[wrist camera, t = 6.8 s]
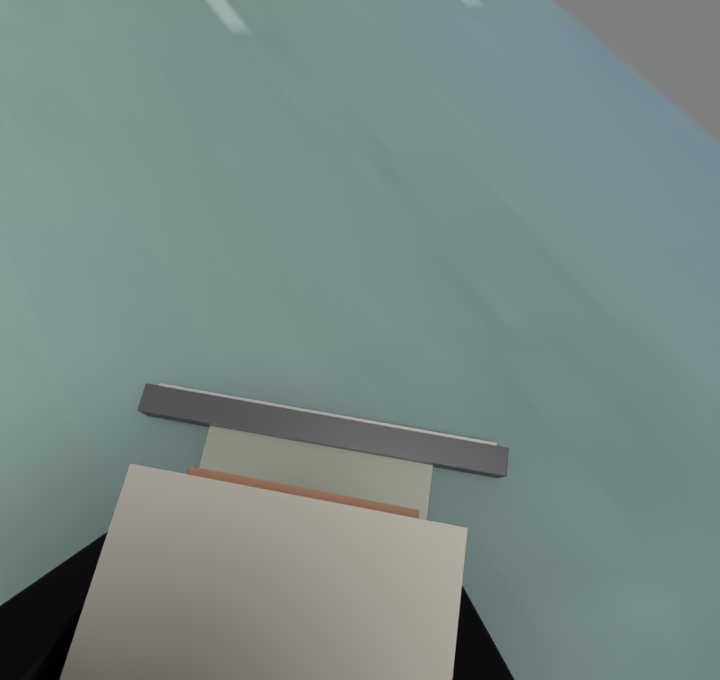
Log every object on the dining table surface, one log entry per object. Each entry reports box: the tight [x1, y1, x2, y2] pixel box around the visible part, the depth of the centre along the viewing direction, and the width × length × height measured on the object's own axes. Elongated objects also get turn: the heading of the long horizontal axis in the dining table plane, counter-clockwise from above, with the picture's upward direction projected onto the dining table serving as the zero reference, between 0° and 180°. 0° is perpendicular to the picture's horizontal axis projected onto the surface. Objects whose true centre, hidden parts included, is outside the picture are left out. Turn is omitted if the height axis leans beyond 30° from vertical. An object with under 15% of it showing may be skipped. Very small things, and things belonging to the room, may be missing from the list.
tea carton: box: [60, 464, 468, 680], centre depth 10 cm, size 5×5×9 cm
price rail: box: [138, 383, 509, 478], centre depth 22 cm, size 16×1×1 cm, turn 81°
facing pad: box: [199, 426, 433, 520], centre depth 21 cm, size 10×10×1 cm
